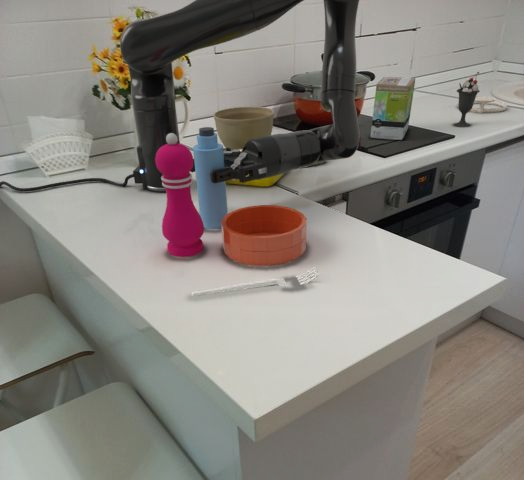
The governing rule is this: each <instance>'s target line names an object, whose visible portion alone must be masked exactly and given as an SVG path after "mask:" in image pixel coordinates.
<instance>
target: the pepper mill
mask: <svg viewBox="0 0 524 480" xmlns="http://www.w3.org/2000/svg"><path fill="white" fill-rule="evenodd" d="M166 141H167V143H168V144H166V145H163V146H162V147H161V148H160V149H159V150H158V151H157V153H156V159H155V161H156V166H157V168H158V170H159V171H160V172H161V173H162V174H163V175H162V177H161V180H162V185H163V186H164V187H165V189H166V207H165V210H164V214H163V217H162V221H161V222H162V223H161V232H162V235H163V237H164V238H165V240H166V241H168V242H167V245H166V247H167V253H168V254H169V255H170V256H173V257H176V258H188V257H194V256H196V255H197V256H198V254H200V253H202V252H203V251H204V242H203V240H202V239H201V238H202V237H203V235H204V233H205V228H204V225H203V221H202V219H201V216H200V212H199V211H198V209H197V208H196V207H195V205H194V201H193V199H192V192H191V186H192V185H193V180H192V178H193V175H192V173H190V172H191V169H192V167H193V159H194V155H193V152H191V150H190V148H188V147H187V146H186V145H184V144H182V143H180V144H179V143H177V141H178V139H177V136H176V135H175V134H173V133H170V134H168V135H167V137H166Z"/></svg>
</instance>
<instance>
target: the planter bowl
mask: <svg viewBox="0 0 524 480" xmlns="http://www.w3.org/2000/svg"><path fill="white" fill-rule="evenodd" d="M274 117H275V111H274V109H271V108H269V107H264V106H236V107H229V108H223V109H220V110H217V111H215V112H214V113H213V120H214V123H215V129H216V134H217V136H218V137H219V140H220V142H221V144H222V145H223V147H224V148H231V151H232V150H235V149H243V148H244V145H245V143H246V142H247V141H248V140H250V139H254V138H259V137H264V136H269V135H272V132H273V127H274Z"/></svg>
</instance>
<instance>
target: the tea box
mask: <svg viewBox="0 0 524 480" xmlns="http://www.w3.org/2000/svg"><path fill="white" fill-rule="evenodd" d="M415 86H416V77H401V76H400V77H399V76H383V77H382V78H381V79H380V80H379V81H378V82H377V83H376V85H375V87H376V88H375V94H374V102H373V111H372V112H373V113H372V119H371V128H370V136H369V138H371V139H379V140H393V141H394V140H395V141H396V140H397V141H403V139H404V138H405V135H406V133H407V131H408V129H409V124H410V118H411V111H412V105H413V99H414V91H415Z"/></svg>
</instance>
